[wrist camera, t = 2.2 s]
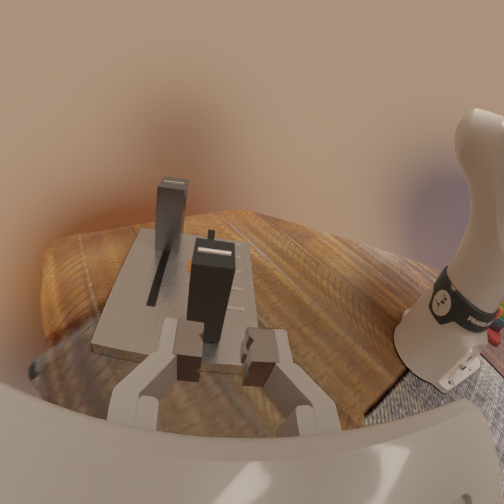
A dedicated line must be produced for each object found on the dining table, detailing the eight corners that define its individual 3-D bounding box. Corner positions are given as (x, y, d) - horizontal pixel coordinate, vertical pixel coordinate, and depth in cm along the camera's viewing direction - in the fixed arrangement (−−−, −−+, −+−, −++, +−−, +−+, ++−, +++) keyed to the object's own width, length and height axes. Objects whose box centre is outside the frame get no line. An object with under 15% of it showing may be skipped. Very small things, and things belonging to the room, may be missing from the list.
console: (246, 244, 54) (261, 181, 47) (258, 375, 31) (293, 297, 24) (144, 230, 51) (147, 165, 43) (94, 352, 27) (68, 265, 20)
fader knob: (219, 315, 34) (235, 241, 28) (219, 342, 31) (235, 267, 25) (188, 311, 34) (196, 235, 28) (185, 338, 30) (191, 261, 24)
